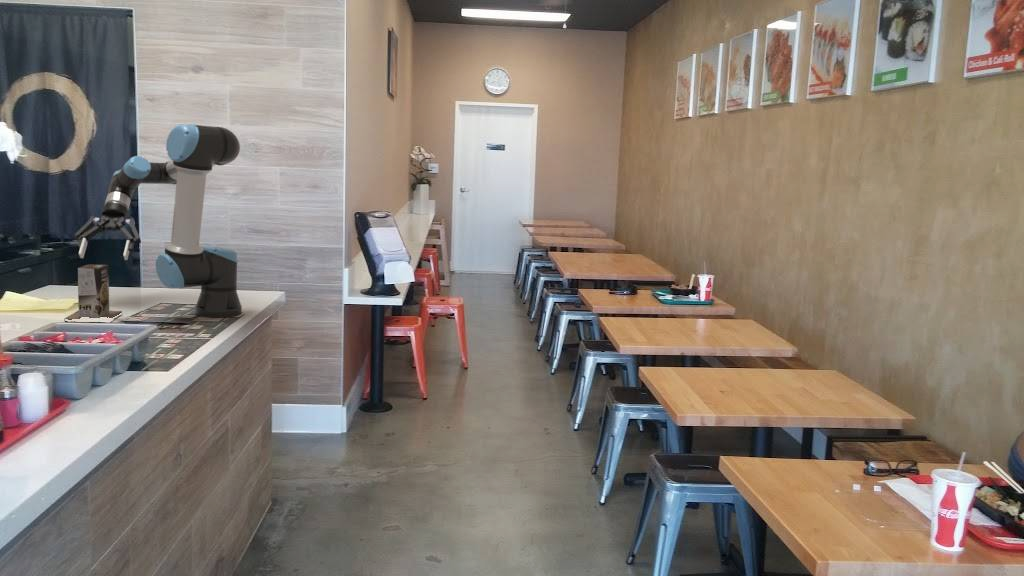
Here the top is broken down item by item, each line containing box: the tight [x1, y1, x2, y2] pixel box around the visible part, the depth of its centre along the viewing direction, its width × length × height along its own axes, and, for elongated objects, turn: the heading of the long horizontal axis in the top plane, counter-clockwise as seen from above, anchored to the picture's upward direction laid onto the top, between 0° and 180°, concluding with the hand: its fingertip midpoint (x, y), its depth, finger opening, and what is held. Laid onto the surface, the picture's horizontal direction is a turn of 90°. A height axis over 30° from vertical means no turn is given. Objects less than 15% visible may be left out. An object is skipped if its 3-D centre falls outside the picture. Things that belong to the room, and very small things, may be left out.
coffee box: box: [77, 263, 110, 318], centre depth 243 cm, size 9×6×16 cm
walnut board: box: [64, 309, 123, 320], centre depth 245 cm, size 13×13×1 cm
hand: (103, 256), depth 252 cm, fingers open, 13 cm apart
